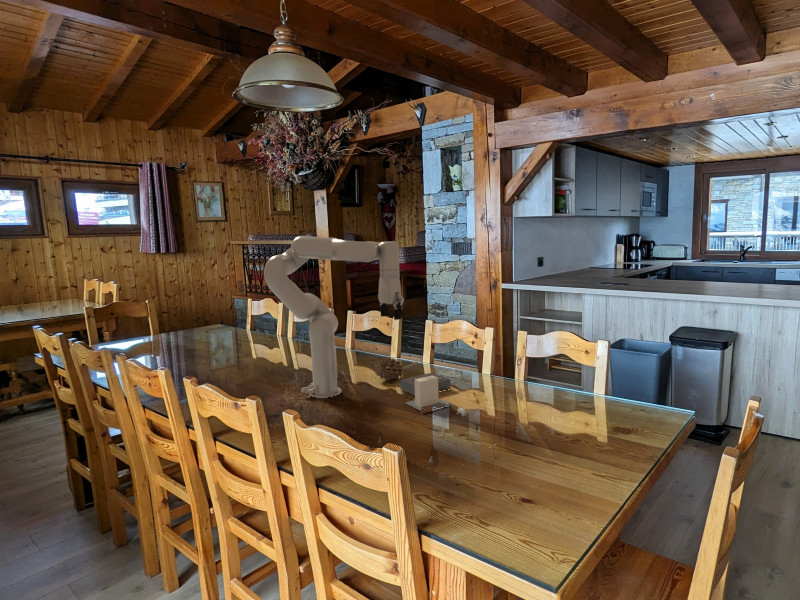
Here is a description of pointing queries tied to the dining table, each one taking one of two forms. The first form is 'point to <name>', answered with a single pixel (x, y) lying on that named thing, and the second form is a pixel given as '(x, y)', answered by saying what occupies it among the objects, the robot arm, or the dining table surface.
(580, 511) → the dining table surface
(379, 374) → the pine cone
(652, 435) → the dining table surface
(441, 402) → the mat
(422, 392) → the cream upright block
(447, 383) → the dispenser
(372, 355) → the dining table surface
